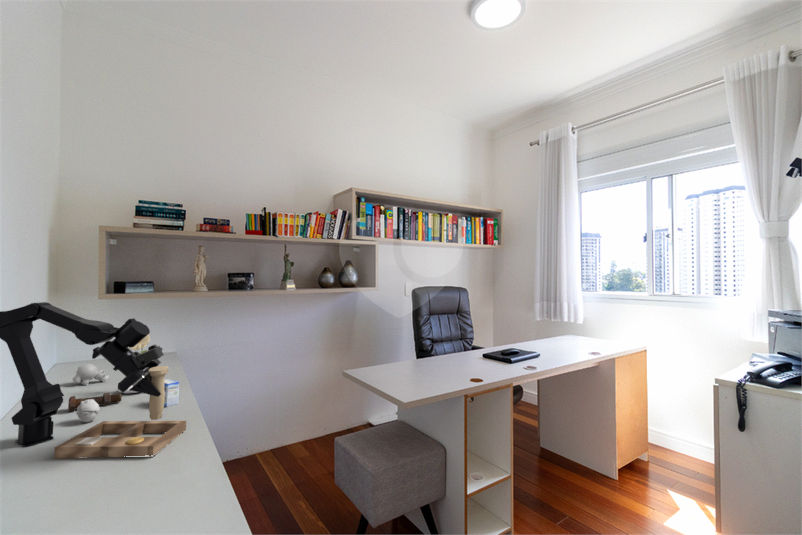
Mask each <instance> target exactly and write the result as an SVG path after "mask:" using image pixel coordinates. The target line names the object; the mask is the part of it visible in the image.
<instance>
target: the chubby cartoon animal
mask: <svg viewBox="0 0 802 535" xmlns="http://www.w3.org/2000/svg"><path fill="white" fill-rule="evenodd" d="M75 373H76V374H75V375H74V377H72V382H73V383H76V384H81V385H83V386H88V385H89V383H90V380H93V379H94V380H96V381H99V382H100V381H104V382H106V381H107V379H109V377H110V375H109V374H108V375H106V372H105V368H104V369H102V370H98V368H97V367H96V366H95V365H94V364H92V363H85V364H82V365H81V366H78V368H77V370H76V372H75ZM87 384H88V385H87Z"/></svg>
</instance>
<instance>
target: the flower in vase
mask: <svg viewBox="0 0 802 535" xmlns="http://www.w3.org/2000/svg"><path fill="white" fill-rule="evenodd" d="M150 336H151V335H150V334H148V335H147V336H146V337H145V338H144V339H143V340H141V341H140V342H139V343H138V344H137V345H136V346H134V347H128V348H129V349H130V350H133V351H134V352H135V351H136V352H137V351H139V350H141V351H140V352H139V353H140V354H142V353H144V352H146V351H148V349H145V348H146V347H147V345H149V342H151V337H150ZM143 349H145V350H143ZM132 387H133V386H132V385H131V386H130V387H129V388H128V389H127V390H126V391H125V392H123V393H122V392H121V391H120V390H119V389H118V388H117V392H118V393H120V394H135V393H136V394H137V393H138V392H136V391H129V390H130V389H131V388H132Z"/></svg>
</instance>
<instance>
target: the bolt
mask: <svg viewBox="0 0 802 535" xmlns="http://www.w3.org/2000/svg"><path fill="white" fill-rule="evenodd" d="M88 399H94V401H95V402H96V403H98V405H99V406H102V407H108V405H109V406H110V405H111V404H115V403H121V401H122V399H123V395H122V393H121V392H118V393H114V394H111V393H110V392H105V393H103V394H102V395H99V396H92V397H85V398H82V397H81V398H77V397H76V395H71V396H69V398H68V407H67V411H68V413H75V412H76V410H77V407H78V406H79V405H80V404H81V402H82V401H85V400H88ZM74 411H75V412H74Z"/></svg>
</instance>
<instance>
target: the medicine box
mask: <svg viewBox="0 0 802 535" xmlns="http://www.w3.org/2000/svg"><path fill="white" fill-rule="evenodd" d="M164 386H165V387H166V390H165V399H164V407H165V406H166V407H165V408H168V407H167V406H169V407H172V406H171V405H173V406H176V405H179V395H180V394H179V392H180V391H179V390H180V381H176V380H173V379H170V378H164ZM175 404H176V405H175Z"/></svg>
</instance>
